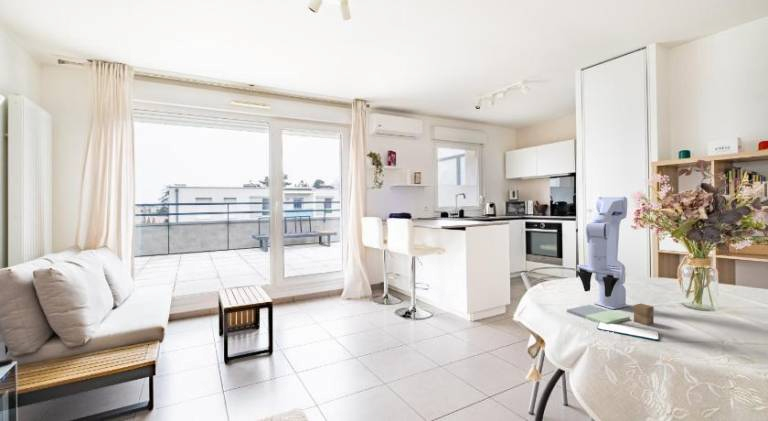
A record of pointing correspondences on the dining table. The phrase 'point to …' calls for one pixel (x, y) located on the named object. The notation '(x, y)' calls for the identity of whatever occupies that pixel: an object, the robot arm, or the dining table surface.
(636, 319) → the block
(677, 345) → the dining table surface
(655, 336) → the smartphone
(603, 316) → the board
